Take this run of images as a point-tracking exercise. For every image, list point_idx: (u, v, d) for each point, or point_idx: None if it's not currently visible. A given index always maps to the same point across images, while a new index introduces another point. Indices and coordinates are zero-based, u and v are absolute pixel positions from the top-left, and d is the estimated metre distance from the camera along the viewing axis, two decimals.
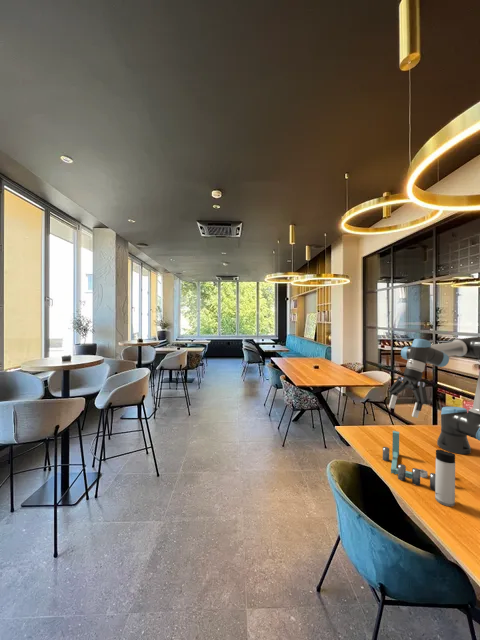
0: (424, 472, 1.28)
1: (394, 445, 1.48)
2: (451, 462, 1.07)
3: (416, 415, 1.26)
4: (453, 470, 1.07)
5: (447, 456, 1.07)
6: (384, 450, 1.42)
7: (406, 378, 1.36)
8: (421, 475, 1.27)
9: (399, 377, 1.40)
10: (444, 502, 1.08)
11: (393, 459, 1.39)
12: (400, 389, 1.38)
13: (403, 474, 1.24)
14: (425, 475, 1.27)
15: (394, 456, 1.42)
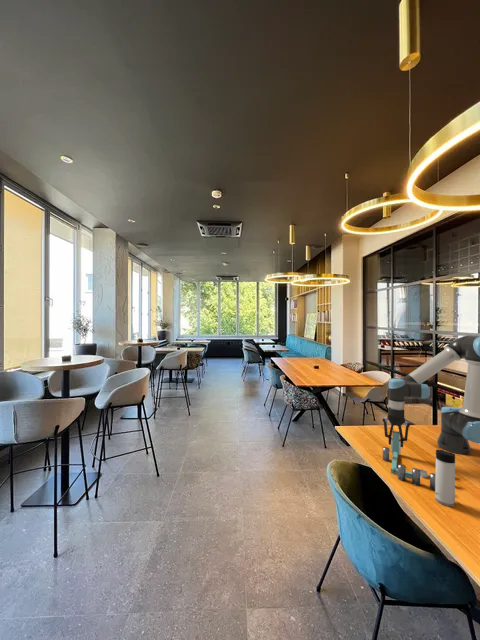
0: (424, 472, 1.28)
1: (394, 445, 1.48)
2: (451, 462, 1.07)
3: (400, 450, 1.48)
4: (453, 470, 1.07)
5: (447, 456, 1.07)
6: (384, 450, 1.42)
7: (390, 416, 1.49)
8: (421, 475, 1.27)
9: (384, 419, 1.51)
10: (444, 502, 1.08)
11: (393, 459, 1.39)
12: (392, 429, 1.50)
13: (403, 474, 1.24)
14: (425, 475, 1.27)
15: (394, 456, 1.42)
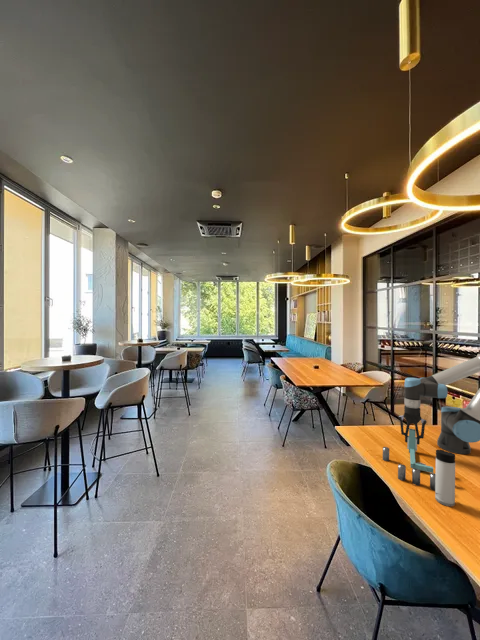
0: None
1: (411, 442, 1.51)
2: (451, 462, 1.07)
3: (416, 448, 1.52)
4: (453, 470, 1.07)
5: (447, 456, 1.07)
6: (384, 450, 1.42)
7: (407, 414, 1.53)
8: None
9: (400, 417, 1.55)
10: (444, 502, 1.08)
11: (411, 455, 1.43)
12: (408, 427, 1.53)
13: (403, 474, 1.24)
14: None
15: (411, 452, 1.46)
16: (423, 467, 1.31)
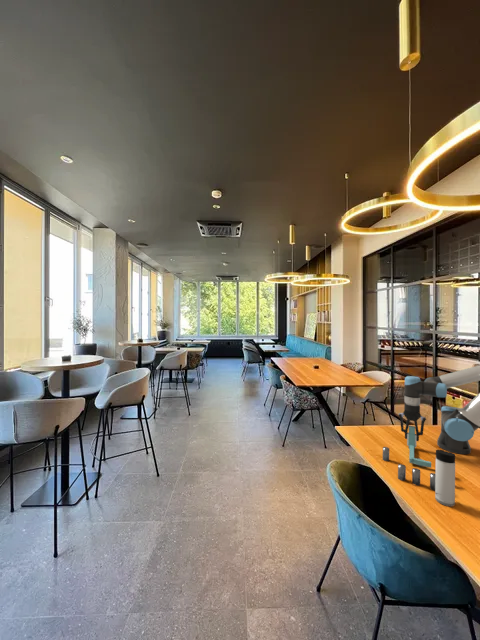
0: None
1: (410, 439, 1.56)
2: (451, 462, 1.07)
3: None
4: (453, 470, 1.07)
5: (447, 456, 1.07)
6: (384, 450, 1.42)
7: (407, 411, 1.57)
8: None
9: (400, 414, 1.59)
10: (444, 502, 1.08)
11: (410, 451, 1.47)
12: (408, 424, 1.58)
13: (403, 474, 1.24)
14: None
15: (411, 448, 1.50)
16: (421, 462, 1.35)
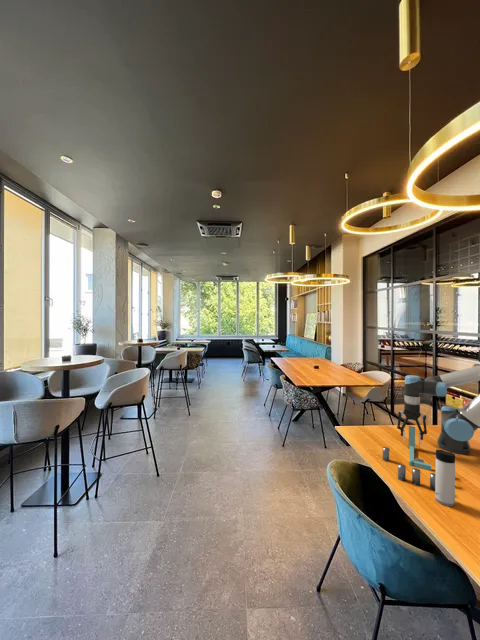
0: (421, 461, 1.38)
1: (410, 439, 1.55)
2: (451, 462, 1.07)
3: None
4: (453, 470, 1.07)
5: (447, 456, 1.07)
6: (384, 450, 1.42)
7: (407, 411, 1.57)
8: None
9: (400, 412, 1.59)
10: (444, 502, 1.08)
11: (410, 452, 1.47)
12: None
13: (403, 474, 1.24)
14: None
15: (411, 450, 1.50)
16: (421, 465, 1.35)
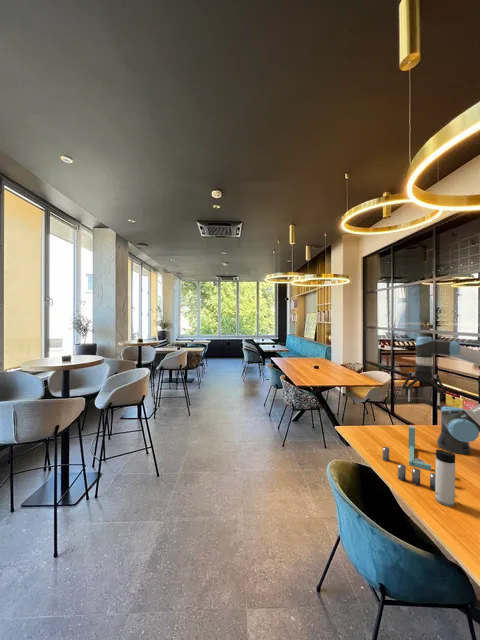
0: (421, 461, 1.38)
1: (410, 439, 1.55)
2: (451, 462, 1.07)
3: None
4: (453, 470, 1.07)
5: (447, 456, 1.07)
6: (384, 450, 1.42)
7: (419, 373, 1.53)
8: None
9: (411, 373, 1.55)
10: (444, 502, 1.08)
11: (410, 452, 1.47)
12: (414, 383, 1.55)
13: (403, 474, 1.24)
14: None
15: (411, 450, 1.50)
16: (421, 465, 1.35)
